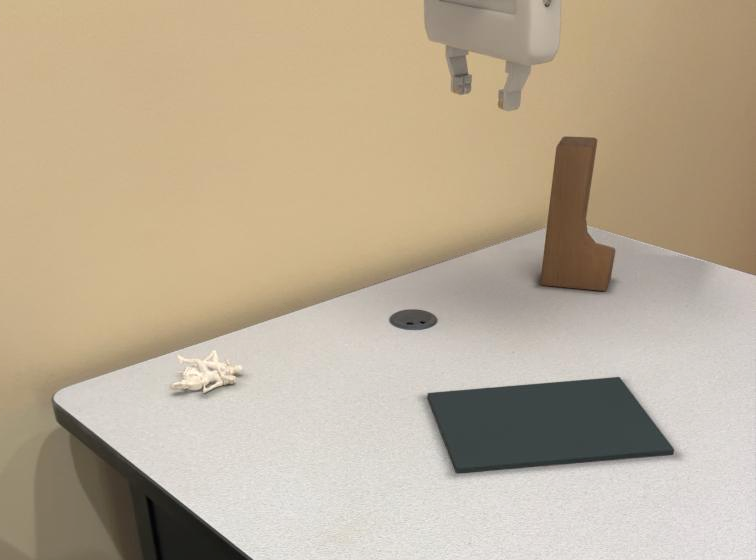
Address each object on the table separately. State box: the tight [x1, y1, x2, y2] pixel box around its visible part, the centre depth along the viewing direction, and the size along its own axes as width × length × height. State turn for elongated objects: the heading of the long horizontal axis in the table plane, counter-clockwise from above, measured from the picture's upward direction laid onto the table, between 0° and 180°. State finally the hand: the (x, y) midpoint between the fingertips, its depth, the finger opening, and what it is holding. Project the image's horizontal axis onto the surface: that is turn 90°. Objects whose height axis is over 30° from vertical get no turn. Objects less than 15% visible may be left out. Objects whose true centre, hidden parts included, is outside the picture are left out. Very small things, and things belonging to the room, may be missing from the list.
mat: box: [427, 376, 675, 474], centre depth 95 cm, size 22×16×1 cm
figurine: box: [170, 349, 244, 394], centre depth 105 cm, size 3×8×8 cm
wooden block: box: [539, 135, 616, 292], centre depth 118 cm, size 9×4×18 cm, turn 68°
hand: (483, 101), depth 95 cm, fingers open, 8 cm apart
